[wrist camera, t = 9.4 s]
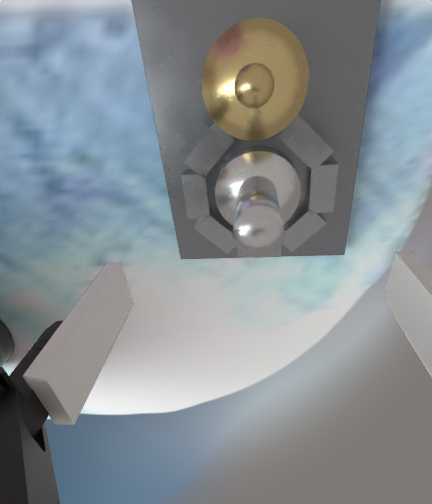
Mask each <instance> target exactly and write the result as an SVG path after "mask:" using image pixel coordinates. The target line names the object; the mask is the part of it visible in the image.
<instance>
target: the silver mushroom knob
mask: <svg viewBox="0 0 432 504" xmlns="http://www.w3.org/2000/svg"><path fill="white" fill-rule="evenodd" d="M300 195H301V186H300V181H299V178H298V175H297V173H296V170H295V168H294V166H293V165H292V163H291V162H290V161H289V160H288V159H287V157H285V156H284V155H283V154H281V153H280V152H278V151H276V150H273V149H270V148H265V147H254V148H248V149H245V150H242V151H240V152H238V153H237V154H235V155H234V156H232V157H231V158H230V159H229V160H228V161H227V162H226V163H225V165H224V166H223V168H222V170H221V171H220V174H219V177H218V180H217V183H216V188H215V199H216V204H217V207H218V209H219V211H220V213H221V214H222V216H223V217H224V218H225V219H226V221H228V222H229V223H230V224H231V225H233V226H234V228H233V241H234V244H235V246H236V247H237V248H238V250H239V251H241V252H242V253H243V254H245V255H247V256H250V257H258V258H259V257H266V256H269V255H271V254H273V253H274V252H276V251H277V250H278V249H279V248H280V246H281V245H282V243H283V240H284V229H283V224H284V223H285V222H286V221H287V220H288V219H289V218H290V217H291V216H292V215H293V214H294V212H295V210H296V209H297V206H298V204H299V201H300Z"/></svg>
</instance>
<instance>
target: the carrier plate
mask: <svg viewBox="0 0 432 504" xmlns="http://www.w3.org/2000/svg"><path fill="white" fill-rule="evenodd" d="M380 2H381V0H132V5H133V10H134V16H135V21H136V26H137V31H138V37H139V42H140V47H141V52H142V58H143V63H144V68H145V73H146V78H147V84H148V89H149V94H150V99H151V105H152V110H153V115H154V120H155V126H156V131H157V136H158V141H159V146H160V152H161V157H162V162H163V167H164V173H165V178H166V183H167V188H168V194H169V199H170V204H171V209H172V214H173V220H174V225H175V230H176V235H177V241H178V246H179V251H180V256H181V259H202V258H242V257H250V256H247V255H245V254H243V253H242V252H241V251H239V250H238V248H237V247H236V246H235V244H234V241H233V228H234V226H233V225H231V224H230V223H229V222H228V221H226V219H225V218H224V217H223V216H222V214H221V213H220V211H219V209H218V207H217V204H216V199H215V188H216V183H217V180H218V177H219V174H220V171H221V170H222V168H223V166H224V165H225V163H226V162H227V161H228V160H229V159H230V158H231V157H232V156H234V155H235V154H237V153H238V152H240V151H242V150H245V149H248V148H254V147H265V148H270V149H273V150H276V151H278V152H280V153H281V154H283V155H284V156H285V157H287V159H288V160H289V161H290V162H291V163H292V165H293V166H294V168H295V170H296V173H297V175H298V178H299V181H300V186H301V195H300V201H299V204H298V206H297V209H296V210H295V212H294V214H293V215H292V216H291V217H290V218H289V219H288V220H287V221H286V222H285V223H284V224H283V229H284V240H283V243H282V245H281V246H280V248H279V249H278V250H277V251H276V252H274V253H273V254H271V255H269V256H266V257H280V256H315V255H344V254H345V247H346V240H347V233H348V226H349V219H350V212H351V205H352V198H353V191H354V184H355V177H356V170H357V163H358V156H359V149H360V142H361V135H362V128H363V121H364V114H365V107H366V100H367V93H368V86H369V79H370V72H371V65H372V58H373V51H374V44H375V37H376V30H377V23H378V16H379V9H380ZM252 18H266V19H270V20H274V21H277V22H279V23H281V24H283V25H284V26H286V27H287V28H288V29H290V30H291V31H292V32H293V33H294V34H295V36H296V37H297V38H298V40H299V41H300V43H301V45H302V46H303V49H304V51H305V54H306V57H307V61H308V67H309V84H308V90H307V94H306V98H305V100H304V103H303V105H302V107H301V109H300V111H299V113H298V114H297V116H296V117H295V118H294V120H293V121H292V122H291V123H290V124H289V125H288V126H287V127H286V128H285V129H283V130H282V131H281V132H279V133H277V134H276V135H274V136H271V137H269V138H266V139H263V140H256V141H248V140H242V139H238V138H235V137H233V136H231V135H229V134H227V133H226V132H224V131H223V130H222V129H221V128H220V127H219V126H218V125H217V124H216V123H215V122H214V121H213V119H212V118H211V116H210V114H209V113H208V110H207V108H206V106H205V102H204V99H203V93H202V74H203V68H204V64H205V61H206V58H207V56H208V53H209V51H210V49H211V48H212V46H213V44H214V43H215V42H216V40H217V39H218V38H219V37H220V36H221V35H222V33H223V32H225V31H226V30H227V29H228V28H230V27H231V26H233V25H235V24H236V23H239V22H241V21H244V20H247V19H252Z"/></svg>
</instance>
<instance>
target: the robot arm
mask: <svg viewBox="0 0 432 504" xmlns="http://www.w3.org/2000/svg"><path fill="white" fill-rule="evenodd" d="M384 300H385V302H386V303H387V305H388V307H389V308H390V310H391V312H392V313H393V315H394V317H395V318H396V320H397V322H398V323H399V325H400V327H401V328H402V330H403V331H404V333H405V335H406V336H407V338H408V339H409V341H410V343H411V345H412V346H413V348H414V350H415V351H416V353H417V354H418V356H419V358H420V359H421V361H422V363H423V364H424V366H425V367H426V369H427V371H428V372H429V374H430V376H431V377H432V271H431V269H430V268H429V267H428V266H427V265H426V264H425V263H424V262H423V261H422V260H421V259H420V258H419V257H418V256H417V255H416V253H414V251H409V252H395V255H394V259H393V263H392V268H391V272H390V276H389V280H388V284H387V288H386V292H385V296H384ZM132 306H133V301H132V298H131V295H130V291H129V288H128V285H127V282H126V279H125V276H124V273H123V269H122V266H121V263H106V264H105V265H104V267H103V268H102V269H101V271H100V272H99V273H98V275H97V276H96V277H95V279H94V280H93V281H92V283H91V284H90V286H89V287H88V288H87V290H86V291H85V292H84V294H83V295H82V296H81V298H80V299H79V300H78V302H77V303H76V304H75V306H74V307H73V309H72V310H71V311H70V313H69V314H68V315H67V317H66V318H65V319H64V321H56V322H55V323H54V324H52V325H51V326H50V327H49V328H47V329H46V330H45V331H44V333H43V334H42V335H41V336H40V338H39V339H38V342H36V343H35V344H34V345H33V347H32V348H31V350H29V352H28V353H27V354H26V356H25V357H24V358H23V359H22V361H21V362H20V363H19V364H18V366H17V367H16V368H15V370H14V371H13V372H12V373H11V375H10V376H8V374H7V373H6V372H5V370H4V369H3V367H2V366H3V365H4V364H5V362H6V361H7V360H8V359H9V358H10V357H11V355H12V353H13V341H12V338H11V336H10V334H9V332H8V330H7V329H6V327H5V326H4V325H3V324H2V323H1V321H0V504H60V501H59V495H58V490H57V485H56V479H55V475H54V469H53V464H52V458H51V453H50V448H49V443H48V437H47V431H46V429H45V427H44V425H43V424H44V422H45V420H46V419H47V417H48V415H49V416H50V418H51V419H52V421H53V422H54V423H55V424H68V425H74V424H75V422H76V420H77V418H78V416H79V414H80V412H81V410H82V408H83V406H84V404H85V402H86V400H87V398H88V396H89V394H90V391H91V389H92V387H93V385H94V383H95V381H96V379H97V377H98V375H99V373H100V371H101V369H102V367H103V365H104V363H105V361H106V359H107V357H108V355H109V353H110V351H111V349H112V347H113V345H114V343H115V340H116V338H117V336H118V334H119V332H120V330H121V328H122V326H123V324H124V322H125V320H126V318H127V316H128V314H129V312H130V310H131V308H132Z"/></svg>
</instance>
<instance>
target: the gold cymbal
mask: <svg viewBox="0 0 432 504" xmlns="http://www.w3.org/2000/svg"><path fill="white" fill-rule="evenodd" d="M308 84H309V67H308V61H307V57H306V54H305V51H304V49H303V46H302V45H301V43H300V41H299V40H298V38H297V37H296V36H295V34H294V33H293V32H292V31H291V30H290V29H288V28H287V27H286V26H284V25H283V24H281V23H279V22H277V21H274V20H270V19H266V18H252V19H247V20H244V21H241V22H239V23H236V24H235V25H233V26H231V27H230V28H228V29H227V30H226V31H225V32H223V33H222V35H221V36H220V37H219V38H218V39H217V40H216V42H215V43H214V44H213V46H212V48H211V49H210V51H209V53H208V56H207V58H206V61H205V64H204V68H203V74H202V93H203V99H204V102H205V106H206V108H207V110H208V113H209V114H210V116H211V118H212V119H213V121H214V122H215V123H216V124H217V125H218V126H219V127H220V128H221V129H222V130H223V131H224V132H226V133H227V134H229V135H231V136H233V137H235V138H238V139H242V140H248V141H256V140H263V139H266V138H269V137H271V136H274V135H276V134H277V133H279V132H281V131H282V130H283V129H285V128H286V127H287V126H288V125H289V124H290V123H291V122H292V121H293V120H294V118H295V117H296V116H297V114H298V113H299V111H300V109H301V107H302V105H303V103H304V100H305V98H306V94H307V90H308Z"/></svg>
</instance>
